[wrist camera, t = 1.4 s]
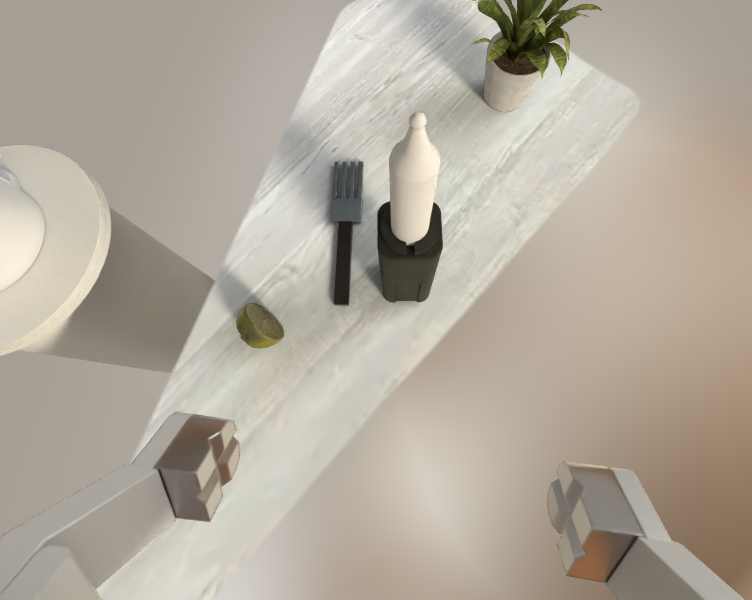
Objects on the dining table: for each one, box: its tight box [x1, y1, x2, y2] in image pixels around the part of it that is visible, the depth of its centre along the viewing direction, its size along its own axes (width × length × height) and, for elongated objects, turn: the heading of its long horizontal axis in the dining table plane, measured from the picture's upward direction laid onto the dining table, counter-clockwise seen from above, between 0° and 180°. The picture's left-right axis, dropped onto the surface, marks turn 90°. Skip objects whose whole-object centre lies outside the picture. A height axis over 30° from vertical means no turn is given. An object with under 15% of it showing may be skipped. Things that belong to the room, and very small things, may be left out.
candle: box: [377, 112, 443, 302], centre depth 30 cm, size 5×5×25 cm
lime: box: [237, 303, 284, 348], centre depth 39 cm, size 4×5×5 cm
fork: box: [330, 162, 364, 306], centre depth 44 cm, size 4×18×1 cm, turn 178°
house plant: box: [472, 0, 602, 112], centre depth 41 cm, size 14×14×16 cm
